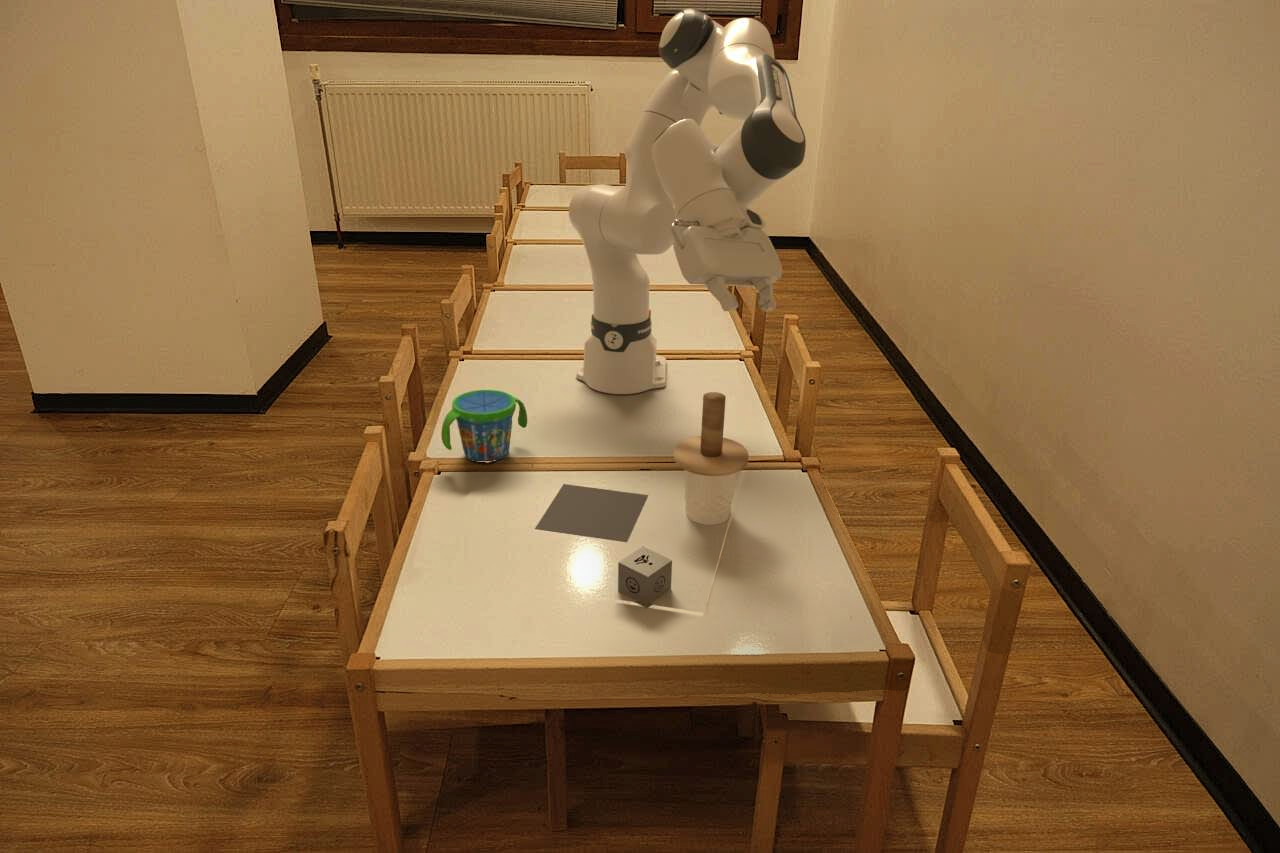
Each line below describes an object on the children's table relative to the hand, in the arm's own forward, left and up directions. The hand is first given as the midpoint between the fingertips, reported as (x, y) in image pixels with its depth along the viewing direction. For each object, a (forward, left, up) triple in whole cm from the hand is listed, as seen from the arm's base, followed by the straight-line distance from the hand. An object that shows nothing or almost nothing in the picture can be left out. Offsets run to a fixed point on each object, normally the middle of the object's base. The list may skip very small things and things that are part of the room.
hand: (751, 309), depth 125 cm
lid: (+3, -4, -22) cm, 23 cm away
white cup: (+3, -4, -33) cm, 33 cm away
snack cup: (-7, -44, -33) cm, 55 cm away
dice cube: (+24, -9, -33) cm, 42 cm away
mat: (+7, -21, -32) cm, 39 cm away
